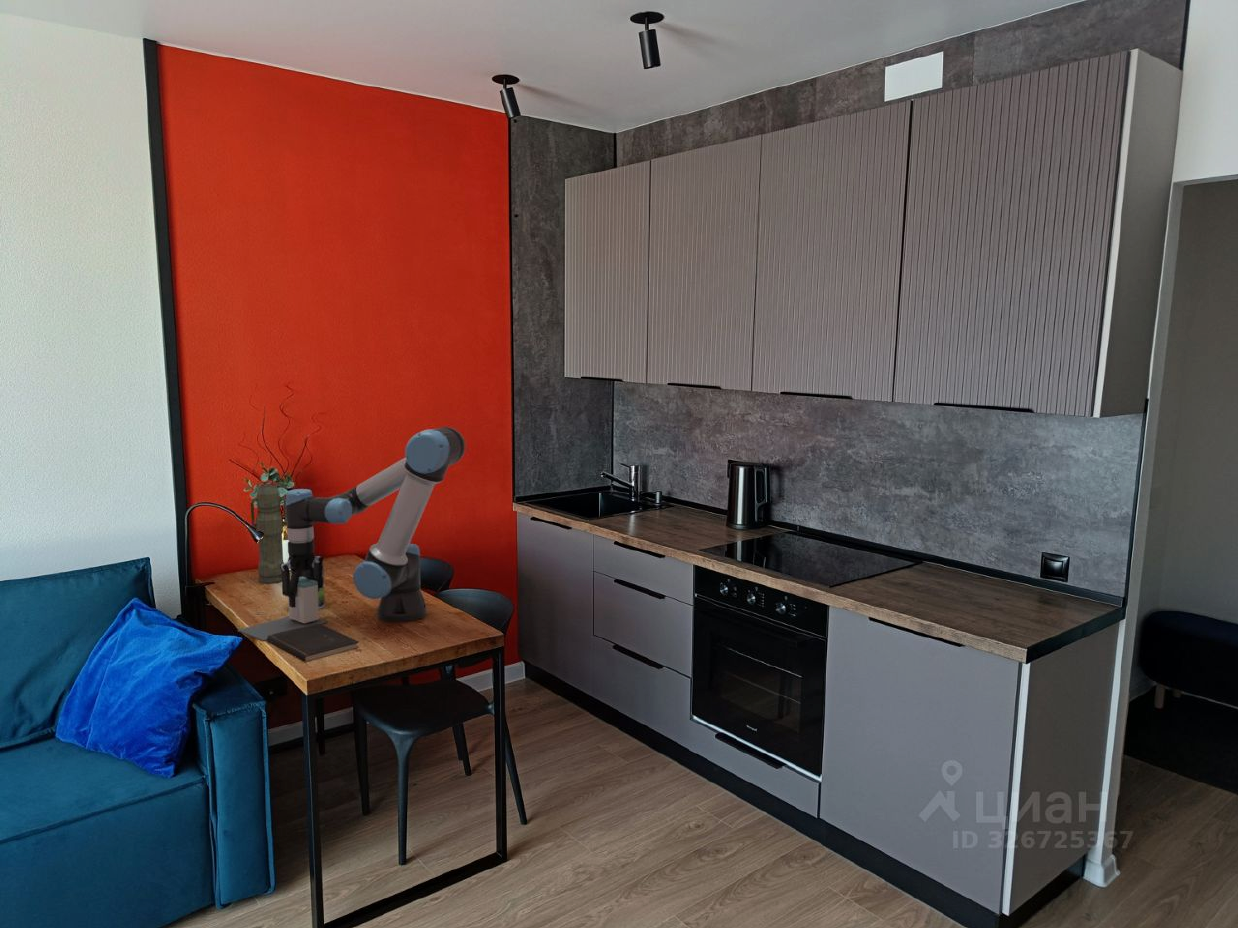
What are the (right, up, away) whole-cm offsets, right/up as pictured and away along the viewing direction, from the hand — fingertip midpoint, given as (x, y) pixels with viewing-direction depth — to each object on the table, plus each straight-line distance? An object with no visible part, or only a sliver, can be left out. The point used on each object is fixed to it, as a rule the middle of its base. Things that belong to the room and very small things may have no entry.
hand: (304, 614), depth 261 cm
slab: (0, -1, 0) cm, 1 cm away
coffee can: (-4, -1, +16) cm, 17 cm away
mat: (-5, -3, -4) cm, 7 cm away
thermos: (-29, +4, +47) cm, 55 cm away
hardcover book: (+9, -6, -19) cm, 22 cm away
